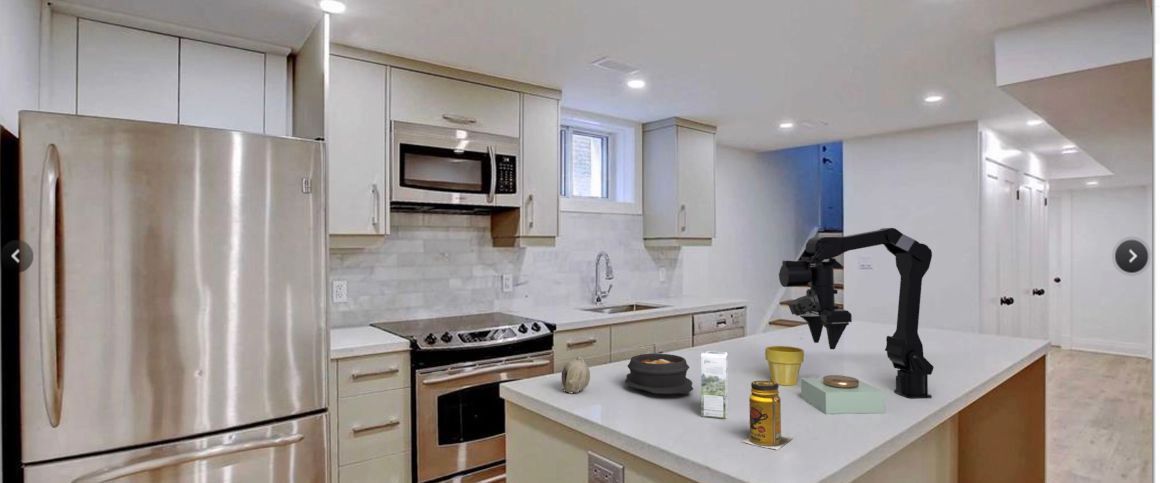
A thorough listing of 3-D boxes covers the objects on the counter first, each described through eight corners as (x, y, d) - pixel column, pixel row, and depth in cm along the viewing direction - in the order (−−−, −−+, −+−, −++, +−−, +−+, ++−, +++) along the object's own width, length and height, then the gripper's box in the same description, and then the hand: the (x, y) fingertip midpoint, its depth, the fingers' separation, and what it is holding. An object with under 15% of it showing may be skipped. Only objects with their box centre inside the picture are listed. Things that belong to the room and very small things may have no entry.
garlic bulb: (573, 396, 162) (574, 360, 165) (597, 395, 157) (599, 358, 161) (551, 392, 155) (554, 355, 158) (576, 391, 150) (578, 353, 154)
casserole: (710, 397, 150) (709, 365, 150) (642, 403, 146) (642, 370, 146) (671, 376, 175) (670, 348, 175) (612, 380, 170) (612, 352, 170)
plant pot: (798, 378, 170) (798, 345, 170) (808, 387, 160) (808, 352, 160) (762, 378, 171) (761, 345, 171) (770, 387, 161) (769, 351, 161)
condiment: (741, 442, 117) (741, 383, 117) (759, 432, 123) (758, 375, 123) (777, 451, 112) (776, 389, 112) (793, 439, 119) (792, 380, 119)
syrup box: (728, 412, 137) (727, 351, 137) (726, 419, 132) (725, 355, 132) (703, 410, 139) (703, 350, 139) (700, 417, 134) (700, 354, 134)
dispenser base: (854, 397, 150) (854, 377, 150) (884, 413, 136) (884, 391, 136) (801, 397, 149) (800, 378, 149) (826, 414, 135) (825, 392, 135)
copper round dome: (848, 395, 147) (848, 375, 147) (865, 404, 139) (865, 382, 139) (817, 396, 146) (817, 375, 146) (832, 404, 138) (832, 383, 138)
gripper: (777, 284, 159) (779, 340, 159) (806, 289, 140) (808, 354, 140) (817, 282, 159) (819, 339, 159) (851, 288, 140) (853, 352, 140)
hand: (824, 345), depth 149 cm, fingers open, 9 cm apart
